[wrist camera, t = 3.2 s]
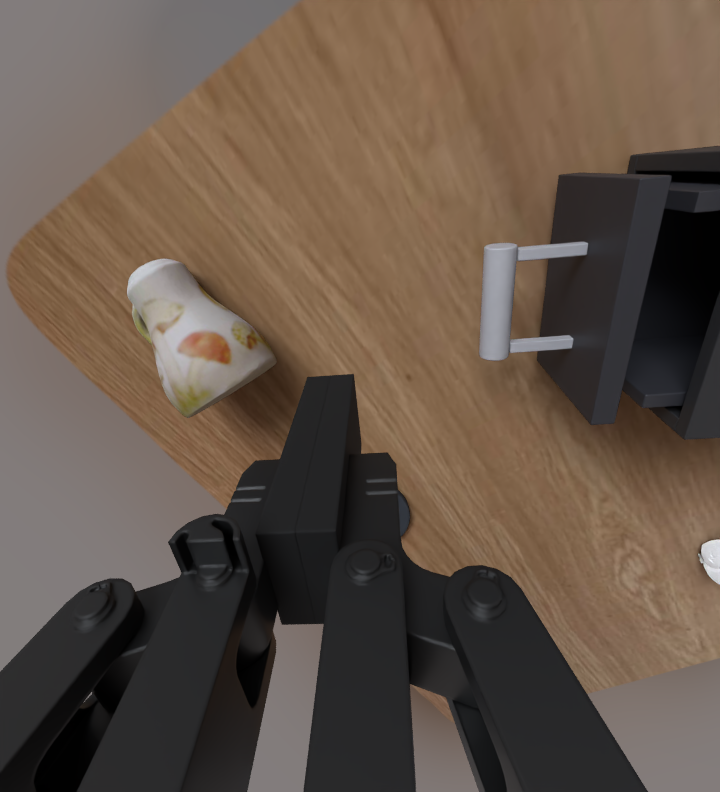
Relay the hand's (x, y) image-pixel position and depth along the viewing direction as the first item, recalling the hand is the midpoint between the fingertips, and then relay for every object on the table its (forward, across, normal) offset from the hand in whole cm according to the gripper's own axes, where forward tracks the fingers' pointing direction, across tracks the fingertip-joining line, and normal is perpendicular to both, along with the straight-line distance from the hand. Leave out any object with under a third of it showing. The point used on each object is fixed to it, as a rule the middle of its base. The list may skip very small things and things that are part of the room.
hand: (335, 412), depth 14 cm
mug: (+16, -11, -2) cm, 19 cm away
